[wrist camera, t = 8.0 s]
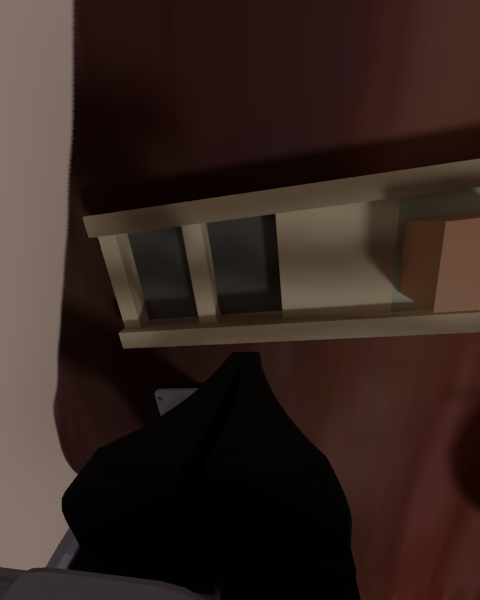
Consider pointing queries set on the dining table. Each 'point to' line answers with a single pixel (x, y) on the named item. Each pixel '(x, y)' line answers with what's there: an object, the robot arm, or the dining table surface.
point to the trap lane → (281, 261)
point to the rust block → (442, 262)
